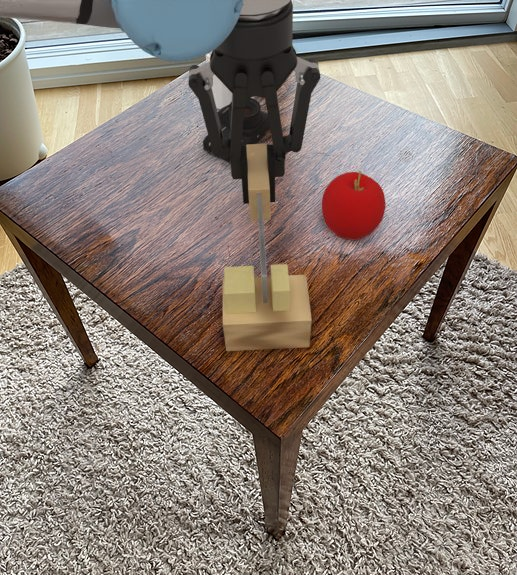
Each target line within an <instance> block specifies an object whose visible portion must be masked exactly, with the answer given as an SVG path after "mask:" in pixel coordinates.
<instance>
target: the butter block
mask: <svg viewBox="0 0 517 575" xmlns="http://www.w3.org/2000/svg"><path fill="white" fill-rule="evenodd" d="M223 269H224V270H223V279H224V294H225V303H226V311H227V314H234V313H253V312H256V300H255V280H254V277H255V266H254V265H242V266H225V267H224V268H223Z"/></svg>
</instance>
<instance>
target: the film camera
mask: <svg viewBox="0 0 517 575" xmlns="http://www.w3.org/2000/svg"><path fill="white" fill-rule="evenodd" d="M261 108H262V107H261V104H260V102H259V101H258V100H256V99H255V98H254V99H253V98H246V101H245V109H244V120H243V132H242V144H241V146H246V145H247V144H259V142H260V141H261V140H263V138H264V137H265V136H266V134H267V133H268V131H269V130H270V125H269V118H268V112H265V111H263V110H262V109H261ZM231 109H232V102H231V103H230V105H227V106H225V107H223V108H221V109H218V110H217V113H218V117H219V121H220V125H221V129H222V133H223V137H224V138H225V139H229V138H230V125H231ZM202 148H203V150H204V151H206V152H208V153H209V154H212V155H214V154H213V151H212V147H211V144H210V140H209V136H208V134H207V135H206V136H205V137H204V138H203V140H202ZM219 158H221V159H223V160H225V161H226V162H230V159H229V157H227V156H225V155H222V156H220V157H219Z"/></svg>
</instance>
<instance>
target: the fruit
mask: <svg viewBox="0 0 517 575" xmlns="http://www.w3.org/2000/svg"><path fill="white" fill-rule="evenodd" d="M321 212H322V217H323V221H324V223H325V225H326V226H327V228H328V229H329V230H330V231H331V232H332V233H333V234H335V235H336V236H337V237H338V238H340V239H345V240H359V239H363V238H366V237H367V236H369V235H370V234H372V233H373V232H374V231H376V230H377V228H378V227H379V225H380V224H381V222H383V218H384V217H385V216H384V215H385V212H386V196H385V193H384V189H383V188H382V186H381V185H380V184H379V183H378V182H377V181H376V180H375V179H373V178H372V177H370V176H368V175H367V174H364V173H362V171H361V170H358V172H357V171H349V172H345V173H341V174H339V175H337V176H336V177H335V178H333V179H332V180H330V182H329V183H328V184H327V186H326V188H325V189H324V192H323V194H322V197H321Z"/></svg>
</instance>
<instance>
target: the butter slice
mask: <svg viewBox="0 0 517 575" xmlns="http://www.w3.org/2000/svg"><path fill="white" fill-rule="evenodd" d="M289 275H290V274H289V266H288V264H287V263H281V264H270V276H271V292H272V306H273V311H289V310H290V285H289Z"/></svg>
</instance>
